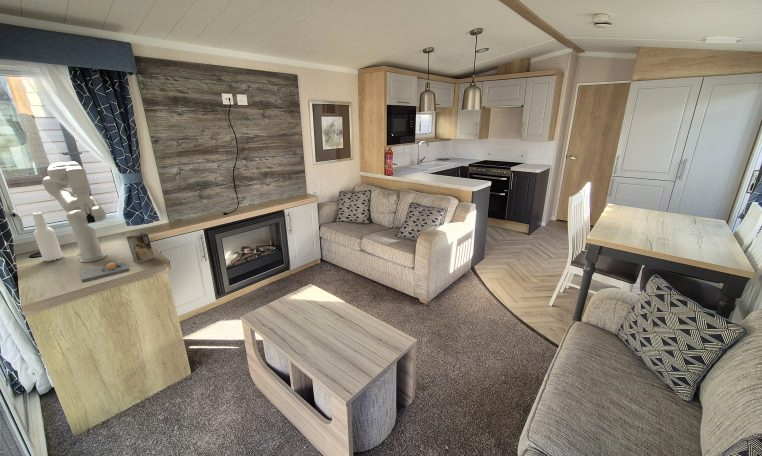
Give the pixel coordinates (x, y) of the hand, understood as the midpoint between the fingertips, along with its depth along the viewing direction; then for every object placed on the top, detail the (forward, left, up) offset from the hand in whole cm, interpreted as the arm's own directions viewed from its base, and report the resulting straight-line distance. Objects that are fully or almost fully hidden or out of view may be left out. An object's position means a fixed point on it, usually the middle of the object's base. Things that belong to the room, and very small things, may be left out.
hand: (91, 222), depth 179 cm
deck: (+8, -8, -27) cm, 29 cm away
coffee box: (+16, +10, -27) cm, 33 cm away
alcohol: (-43, +8, -27) cm, 52 cm away
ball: (+10, -6, -25) cm, 27 cm away
